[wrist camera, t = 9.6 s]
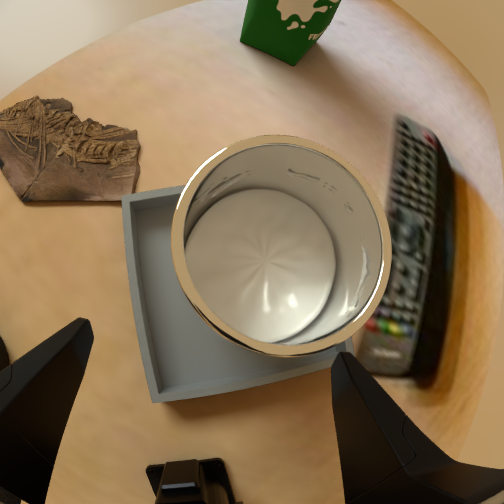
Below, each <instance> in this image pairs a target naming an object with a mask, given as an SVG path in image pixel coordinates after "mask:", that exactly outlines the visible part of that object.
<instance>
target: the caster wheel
mask: <svg viewBox="0 0 504 504" xmlns="http://www.w3.org/2000/svg"><path fill="white" fill-rule="evenodd" d="M8 366H9V360H8V355H7V351H6V348H5V346H4V343H3V341H2V339H1V337H0V372H1V371H2V370H3V369H5V368H6V367H8Z"/></svg>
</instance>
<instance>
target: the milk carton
mask: <svg viewBox="0 0 504 504" xmlns="http://www.w3.org/2000/svg"><path fill="white" fill-rule="evenodd" d="M340 2H341V0H248V4H247V9H246V13H245V18H244V23H243V28H242V33H241V38H240V42H243V43H245V44H247V45H250V46H252V47H254V48H257V49H259V50H261V51H263V52H265V53H268V54H270V55H272V56H274V57H276V58H278V59H280V60H282V61H284V62H286V63H288V64H290V65H292V66H294V65H295V64H296V63H297V62H298V61H299V60H300V59H301V58H302V57H303V56H304V54H305V53H306V52H307V51H308V50H309V49H310V48H311V47H312V46H313V45H314V44H315V43H316V42H317V40H318V39H319V38H320V36H321V35H322V34H323V32H324V31H325V30H326V29H327V27H328V26H329V24H330V23H331V21H332V19H333V17H334V14H335V12H336V10H337V8H338V6H339V4H340Z"/></svg>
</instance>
